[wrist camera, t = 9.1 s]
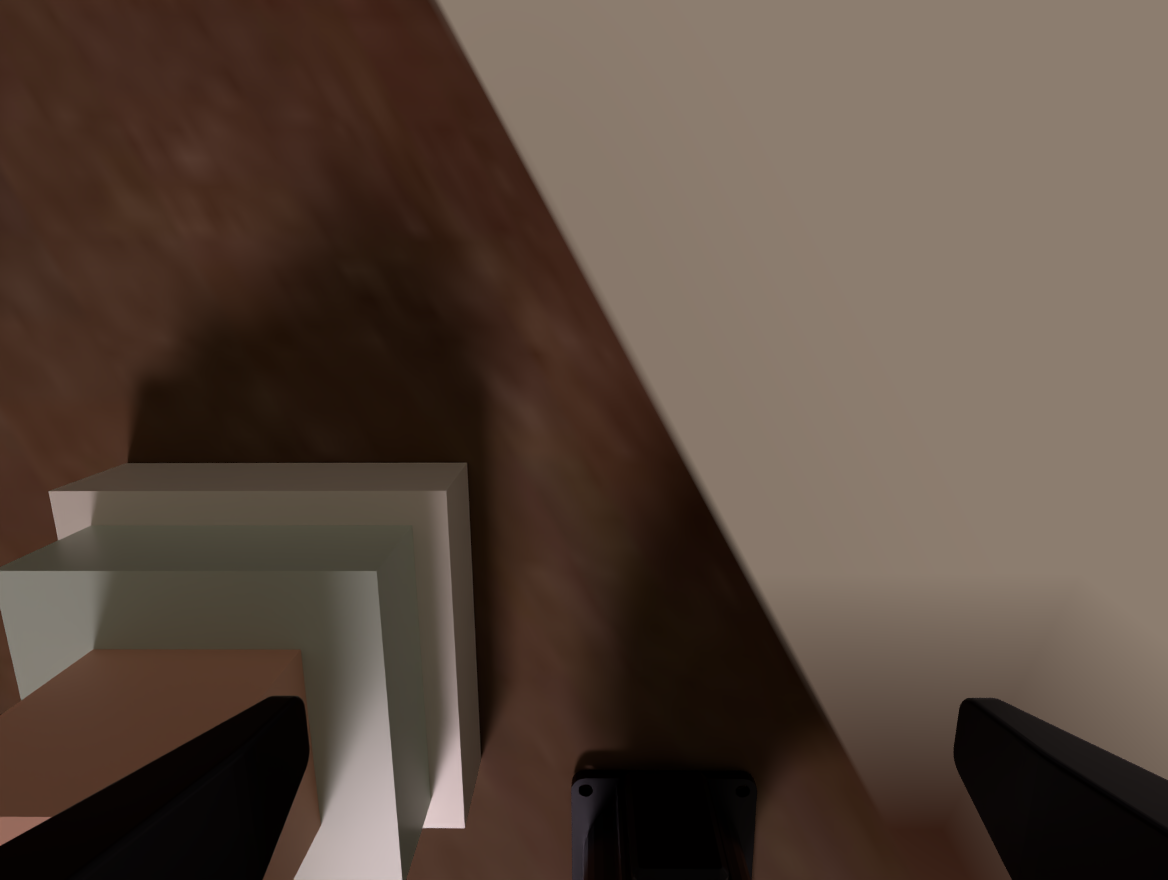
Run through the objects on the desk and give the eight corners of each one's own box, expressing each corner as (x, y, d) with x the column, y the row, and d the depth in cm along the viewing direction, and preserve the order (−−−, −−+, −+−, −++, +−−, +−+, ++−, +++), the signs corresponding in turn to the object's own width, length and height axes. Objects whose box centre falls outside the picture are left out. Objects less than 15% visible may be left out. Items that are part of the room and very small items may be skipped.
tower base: (481, 759, 23) (443, 920, 17) (176, 758, 23) (33, 917, 17) (467, 462, 20) (417, 530, 14) (126, 463, 20) (-61, 530, 15)
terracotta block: (320, 825, 16) (205, 1052, 11) (127, 824, 16) (-70, 1049, 11) (300, 649, 15) (162, 817, 10) (93, 649, 15) (-143, 816, 10)
